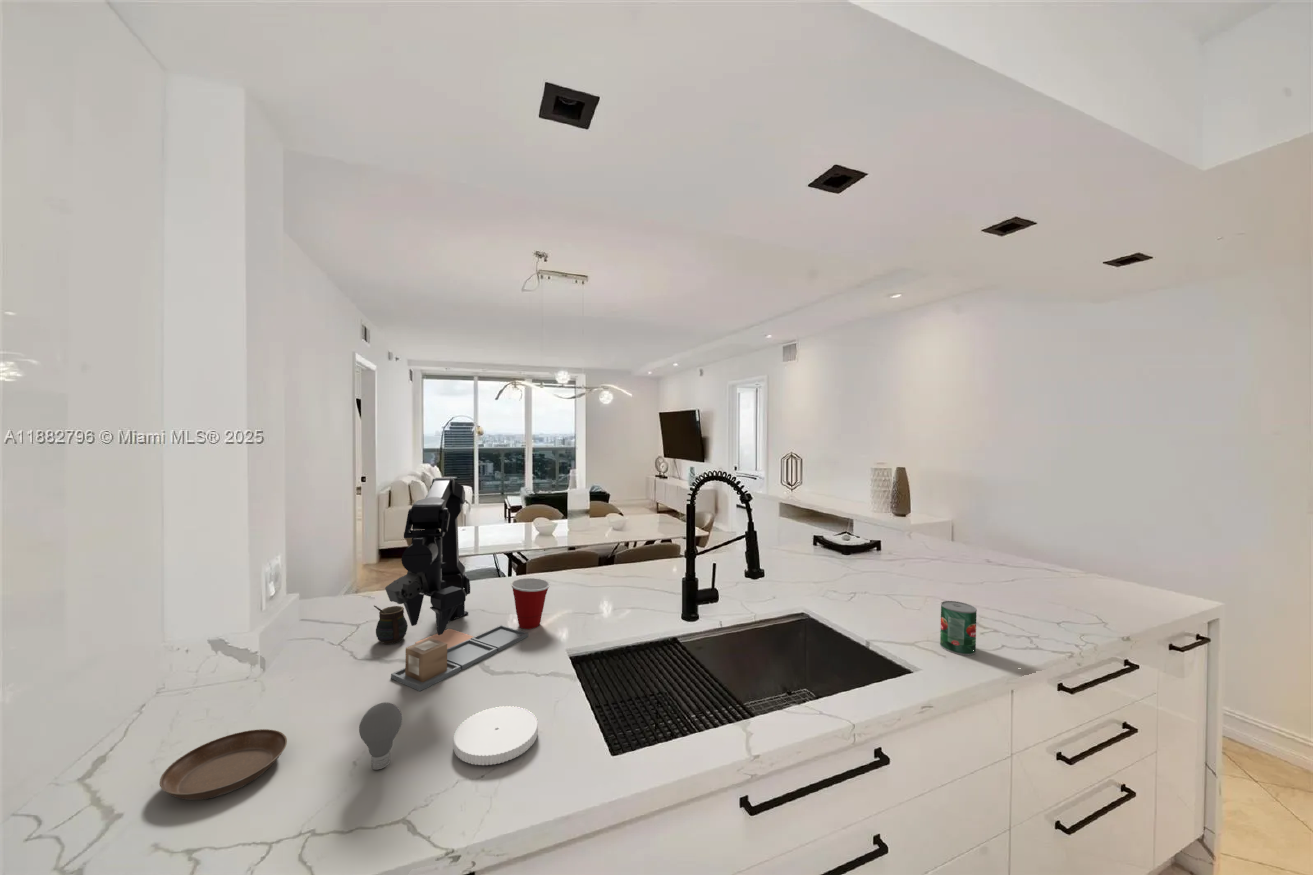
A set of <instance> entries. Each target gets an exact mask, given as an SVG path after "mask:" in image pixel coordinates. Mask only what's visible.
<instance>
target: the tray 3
mask: <svg viewBox="0 0 1313 875" xmlns="http://www.w3.org/2000/svg"><path fill="white" fill-rule="evenodd" d="M528 637H529V632H525V631H523V630H520V629H516V628H513V627H509V626H506V625H503V624H500V625H497V626H495V627H492V628H491V629H489V630H486V631H484V632H482V633H479V634H478V635H476V636H473V638H471V640H474V641H477V642H480V643H483V644H486V645H488V646H491V647H494V648H497V652H500V651H502V650H504V649H506V648H509V647H511V646H512V645H514V644H517V643H519V642H520V641H522V640H525V639H526V638H528Z"/></svg>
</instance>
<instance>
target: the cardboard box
mask: <svg viewBox="0 0 1313 875" xmlns="http://www.w3.org/2000/svg"><path fill="white" fill-rule="evenodd" d="M404 662H405V663H404V664H405V665H404V668H405V675H407V676H409V677H411V678H413V679H416V680H418V681H420V682H424V681H426V680H428V679H431V678H433V677H435V676H437V675H439V674H441V673H443V672H445V671H447V644H446V643H443V642H441V641H438V640H435V639H432V638H429V639H426V640H424V641H421V642H419V643H416V644H415V643H413V644H412V645H408V646H407V647H405V660H404Z"/></svg>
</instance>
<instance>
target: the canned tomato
mask: <svg viewBox="0 0 1313 875" xmlns="http://www.w3.org/2000/svg"><path fill="white" fill-rule="evenodd" d="M977 612H978V610H977V607H975V606H974V605H971V604H969V603H966V602H961V601H957V600H956V601H955V600H944V601H941V603H940V631H939V632H940V637H939V640H940V641H939V645H940V647H941V648H942V649H944V650H945V651H947V652H950V653H953V654H956V655H960V656H973V655H975V654H976V653H977V651H976V649H977V644H976V643H977ZM973 650H974V651H973Z"/></svg>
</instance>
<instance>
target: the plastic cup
mask: <svg viewBox="0 0 1313 875" xmlns="http://www.w3.org/2000/svg"><path fill="white" fill-rule="evenodd" d="M510 586H511V588H512V593H513V597H514V606H515V612H516V613H515V614H516V615H517V616H516V618H517V624H518V626H519V628H520V629H522V630H523V629H525V630H531V629H535V628H538V627H539V626H540V624H541V621H542V615H543V612H544V608H545V607H544V606H545V601H546V597H547V593H548V589H549V588H550V586H552V585H551V583H550V582H549V581H547V580H546V579H543V578H542V579H541V578H535V577H525V578H517V579H515V580H512V581H511V583H510Z"/></svg>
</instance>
